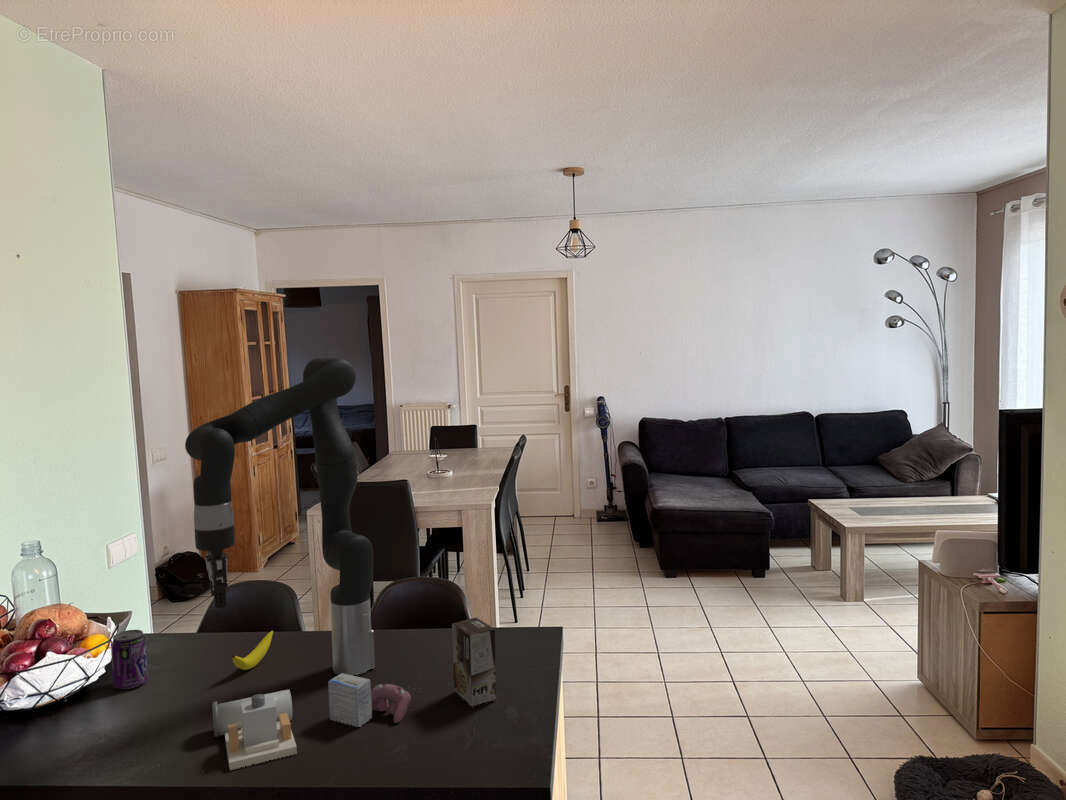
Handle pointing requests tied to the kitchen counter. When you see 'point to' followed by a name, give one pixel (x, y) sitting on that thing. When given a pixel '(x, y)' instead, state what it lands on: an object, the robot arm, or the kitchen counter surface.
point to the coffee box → (474, 661)
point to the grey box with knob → (259, 720)
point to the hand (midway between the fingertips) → (218, 601)
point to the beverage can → (129, 659)
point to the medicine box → (350, 700)
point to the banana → (254, 654)
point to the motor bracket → (230, 725)
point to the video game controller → (393, 693)
